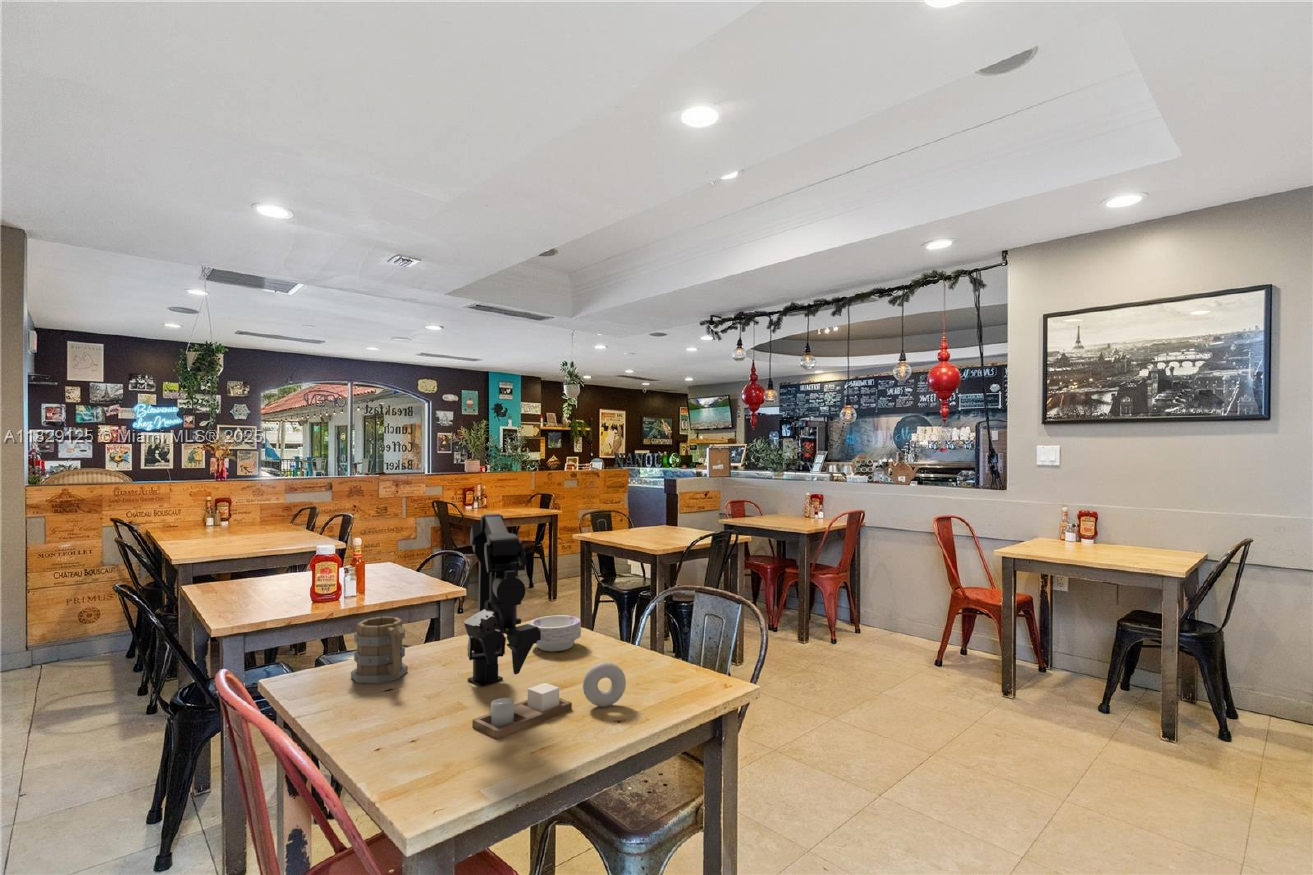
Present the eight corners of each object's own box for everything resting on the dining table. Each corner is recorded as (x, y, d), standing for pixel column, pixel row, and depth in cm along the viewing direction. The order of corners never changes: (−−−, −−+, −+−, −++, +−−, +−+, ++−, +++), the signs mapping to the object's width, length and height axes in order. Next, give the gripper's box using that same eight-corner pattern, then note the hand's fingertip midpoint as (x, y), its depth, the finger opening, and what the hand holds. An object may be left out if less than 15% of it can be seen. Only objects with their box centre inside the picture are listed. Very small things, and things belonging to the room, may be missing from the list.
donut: (584, 711, 145) (584, 666, 146) (581, 705, 149) (581, 662, 149) (627, 706, 148) (627, 662, 148) (624, 701, 151) (624, 658, 152)
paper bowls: (525, 643, 198) (525, 616, 198) (574, 637, 203) (574, 612, 203) (534, 658, 183) (534, 629, 183) (586, 652, 189) (586, 624, 189)
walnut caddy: (472, 726, 137) (472, 719, 138) (546, 699, 153) (546, 692, 153) (497, 739, 132) (497, 731, 132) (571, 709, 147) (571, 702, 147)
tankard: (346, 674, 170) (347, 617, 170) (395, 663, 178) (395, 609, 179) (372, 696, 155) (372, 632, 155) (424, 683, 163) (424, 623, 164)
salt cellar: (486, 726, 138) (486, 703, 138) (504, 719, 141) (505, 696, 141) (499, 733, 135) (499, 708, 135) (518, 725, 138) (518, 702, 138)
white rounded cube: (527, 711, 146) (527, 688, 146) (544, 704, 150) (544, 682, 150) (542, 717, 143) (542, 694, 143) (559, 710, 147) (559, 687, 147)
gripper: (445, 595, 138) (445, 669, 138) (498, 609, 126) (497, 690, 126) (489, 587, 147) (489, 656, 147) (542, 599, 135) (542, 675, 134)
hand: (503, 669), depth 138 cm, fingers open, 9 cm apart
